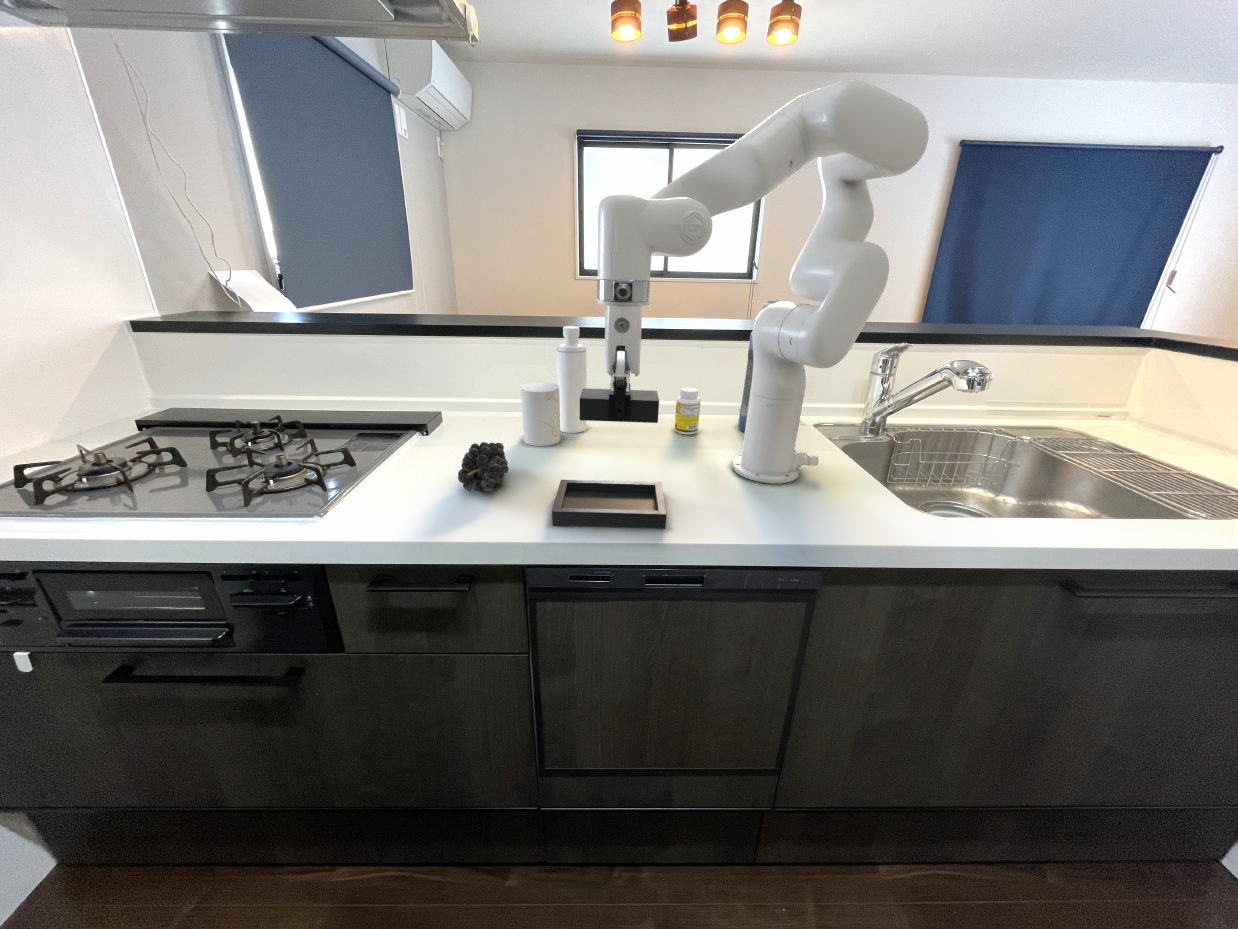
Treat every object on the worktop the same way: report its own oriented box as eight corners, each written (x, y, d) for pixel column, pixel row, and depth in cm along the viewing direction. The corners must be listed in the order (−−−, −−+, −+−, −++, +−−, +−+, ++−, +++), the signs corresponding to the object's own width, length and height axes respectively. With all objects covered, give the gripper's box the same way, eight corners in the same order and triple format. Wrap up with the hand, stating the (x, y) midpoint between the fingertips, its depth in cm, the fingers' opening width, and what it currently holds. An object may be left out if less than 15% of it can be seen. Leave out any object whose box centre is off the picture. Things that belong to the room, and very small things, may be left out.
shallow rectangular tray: (660, 495, 86) (661, 482, 85) (665, 528, 76) (666, 514, 75) (561, 492, 86) (560, 479, 85) (552, 525, 76) (551, 511, 75)
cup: (553, 447, 105) (552, 393, 100) (518, 444, 107) (514, 390, 102) (565, 435, 113) (564, 383, 108) (531, 431, 114) (529, 380, 109)
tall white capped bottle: (592, 428, 117) (592, 320, 107) (570, 435, 113) (568, 322, 103) (574, 422, 121) (573, 317, 111) (552, 427, 117) (549, 319, 107)
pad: (655, 411, 81) (657, 390, 79) (657, 423, 75) (659, 400, 74) (582, 409, 81) (582, 388, 80) (579, 420, 75) (579, 398, 74)
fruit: (482, 419, 93) (459, 446, 79) (524, 433, 94) (509, 462, 80) (471, 459, 96) (447, 492, 82) (512, 472, 97) (495, 507, 83)
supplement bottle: (679, 426, 120) (682, 385, 116) (700, 430, 118) (705, 388, 114) (670, 432, 116) (673, 390, 112) (693, 437, 114) (697, 393, 110)
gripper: (651, 299, 63) (644, 432, 70) (647, 290, 79) (641, 399, 86) (593, 297, 63) (592, 430, 70) (600, 288, 79) (598, 397, 86)
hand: (619, 412), depth 78 cm, fingers closed on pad, 6 cm apart
